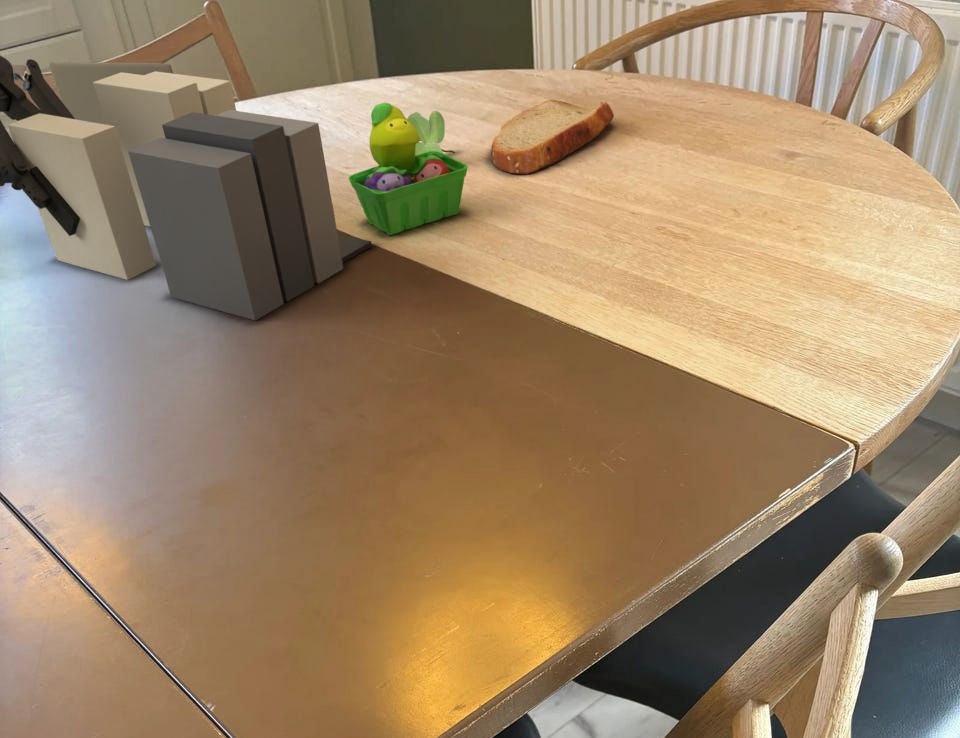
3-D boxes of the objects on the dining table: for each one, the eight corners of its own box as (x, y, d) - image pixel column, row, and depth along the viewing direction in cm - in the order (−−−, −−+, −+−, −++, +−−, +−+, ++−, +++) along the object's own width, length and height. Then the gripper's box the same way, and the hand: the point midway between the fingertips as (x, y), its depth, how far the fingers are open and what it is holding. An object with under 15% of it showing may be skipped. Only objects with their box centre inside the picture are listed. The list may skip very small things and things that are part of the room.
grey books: (255, 321, 97) (215, 155, 87) (171, 297, 102) (124, 139, 92) (379, 248, 108) (356, 93, 97) (296, 230, 113) (267, 82, 103)
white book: (128, 280, 107) (82, 138, 97) (57, 260, 112) (7, 124, 103) (156, 265, 109) (114, 125, 99) (85, 247, 114) (39, 113, 105)
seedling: (446, 201, 130) (414, 188, 124) (423, 148, 131) (391, 133, 126) (487, 165, 126) (456, 149, 120) (463, 110, 127) (432, 93, 122)
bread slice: (503, 178, 120) (501, 145, 117) (469, 134, 133) (466, 103, 130) (647, 154, 122) (648, 121, 120) (599, 113, 135) (599, 82, 133)
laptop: (247, 145, 137) (223, 36, 128) (198, 178, 129) (169, 63, 120) (137, 141, 143) (106, 35, 134) (83, 172, 134) (46, 62, 125)
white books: (206, 240, 113) (167, 92, 103) (135, 223, 119) (92, 82, 108) (293, 196, 121) (265, 55, 111) (223, 182, 127) (190, 47, 117)
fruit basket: (384, 242, 108) (368, 129, 101) (348, 219, 114) (330, 111, 107) (475, 214, 112) (466, 103, 105) (435, 193, 118) (423, 87, 110)
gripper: (-142, 23, 96) (32, 227, 99) (10, -17, 105) (162, 169, 109) (-143, 80, 102) (20, 270, 105) (0, 37, 111) (145, 212, 115)
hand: (92, 218), depth 107 cm, fingers closed on white book, 4 cm apart
